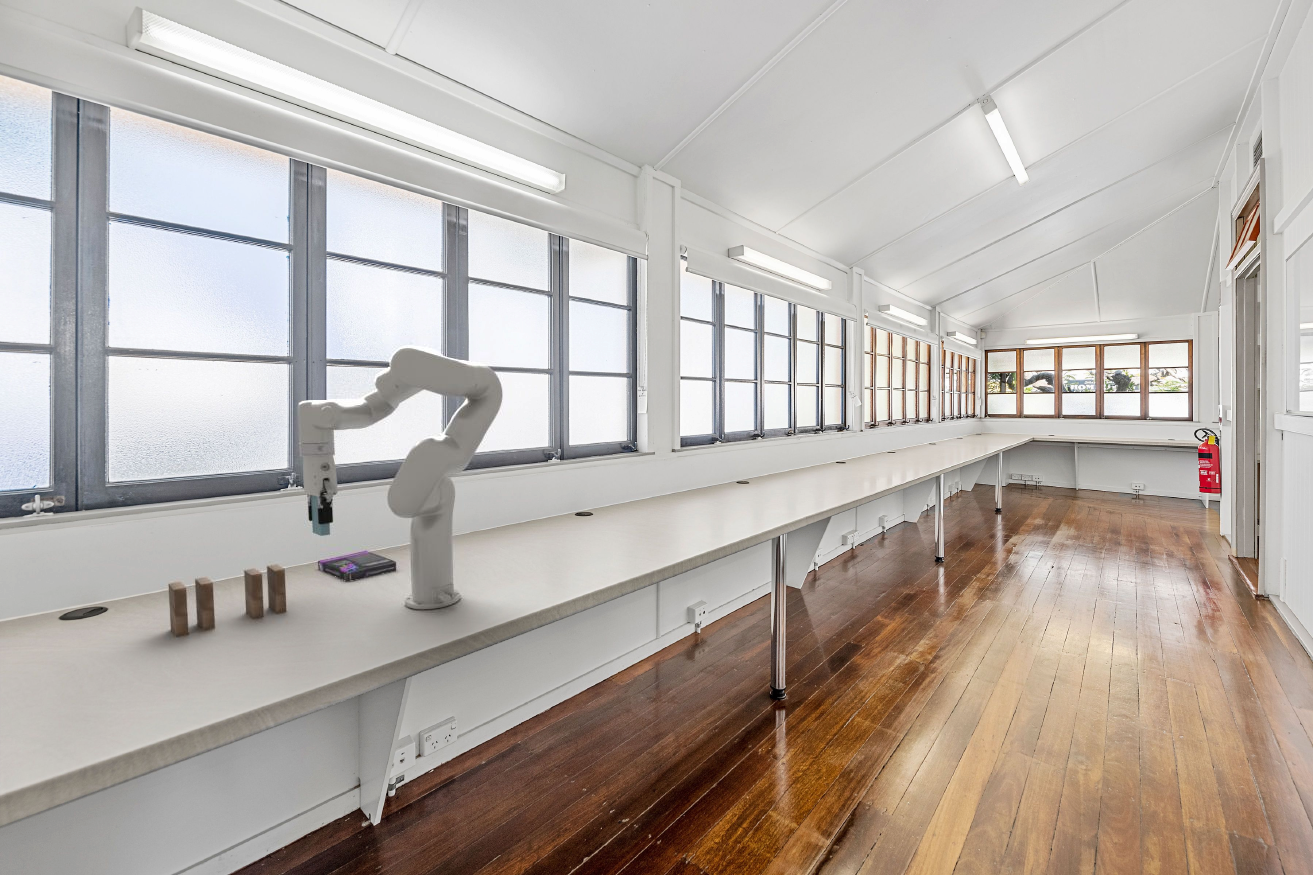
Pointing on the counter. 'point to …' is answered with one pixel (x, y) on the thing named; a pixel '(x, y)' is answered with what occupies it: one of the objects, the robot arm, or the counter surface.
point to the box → (357, 565)
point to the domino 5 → (317, 528)
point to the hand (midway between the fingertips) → (320, 521)
